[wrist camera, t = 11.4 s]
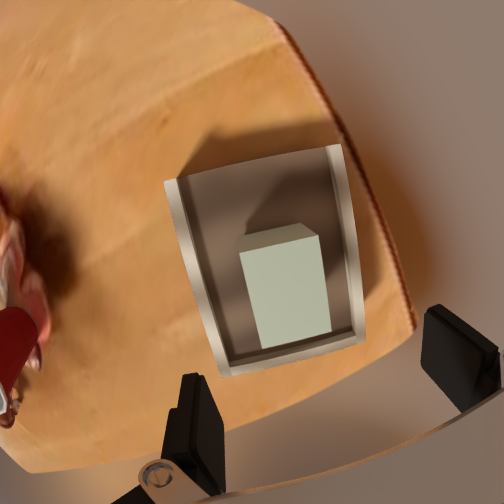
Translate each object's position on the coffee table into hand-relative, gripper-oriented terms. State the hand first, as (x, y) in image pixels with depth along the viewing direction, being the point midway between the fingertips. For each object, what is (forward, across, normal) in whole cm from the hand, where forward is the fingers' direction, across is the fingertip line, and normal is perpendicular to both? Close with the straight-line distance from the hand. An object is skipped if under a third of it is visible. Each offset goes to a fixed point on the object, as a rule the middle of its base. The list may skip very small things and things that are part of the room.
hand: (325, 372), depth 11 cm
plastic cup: (+19, +32, +3) cm, 38 cm away
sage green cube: (+15, 0, +1) cm, 15 cm away
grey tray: (+19, 0, +1) cm, 19 cm away
